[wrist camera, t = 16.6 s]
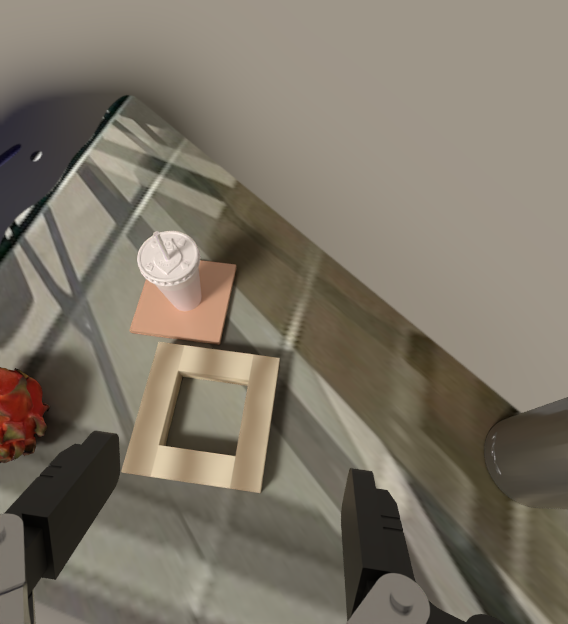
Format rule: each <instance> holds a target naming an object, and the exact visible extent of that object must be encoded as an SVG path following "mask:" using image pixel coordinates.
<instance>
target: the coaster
mask: <svg viewBox="0 0 568 624" xmlns="http://www.w3.org/2000/svg"><path fill="white" fill-rule="evenodd" d="M236 269H237V267H236V265H234V264H226V263H218V262H210V261H202V260H200V264H199V277H200V287H201V302H200V304H199V305H198V306H197V307H196V308H194V309H193V310H190V311H181V310H178V309H177V308H176V307H175V306H174V305H173V304H172V303H171V302H170V301H169V300H168V299H167V297H166V296H165V295H164V294H163V293H162V292H161V291H160V290H159V289H158V287H157V286H156V285H155V284H153V283H151V282H150V281H148V280H147V279H146V281H145V284H144V287H143V291H142V294H141V297H140V300H139V303H138V306H137V309H136V312H135V315H134V318H133V321H132V324H131V327H130V330H129V331H130V332H131V333H135V334H143V335H150V336H158V337H165V338H173V339H180V340H188V341H195V342H203V343H210V344H218V345H220V342H221V338H222V333H223V329H224V324H225V319H226V315H227V310H228V306H229V301H230V296H231V292H232V287H233V282H234V278H235V273H236Z"/></svg>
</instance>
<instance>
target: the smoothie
mask: <svg viewBox="0 0 568 624" xmlns="http://www.w3.org/2000/svg"><path fill="white" fill-rule="evenodd" d="M137 262H138V266H139V268H140V270H141V273H142V275H143V276H144V277H145V278H146V279H147V280H148V281H150V282H151V283H153V284H155V285H156V286H157V287H158V289H159V290H160V291H161V292H162V293H163V294H164V295H165V296H166V297H167V299H168V300H169V301H170V302H171V303H172V304H173V305H174V306H175V307H176V308H177V309H178V310H181V311H190V310H193V309H194V308H196V307H197V306H198V305H199V304H200V302H201V287H200V277H199V264H200V252H199V249H198V247H197V245H196V243H195V241H194V240H193V239H192V238H191V237H190V236H188V235H186V234H184V233H182V232H178V231H164V232H160V233H159V232H154V233H153V236H151V237H150V238H149V239H147V240H146V241H145V242H144V243H143V245H142V246H141V248H140V250H139V252H138V257H137Z"/></svg>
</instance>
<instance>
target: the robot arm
mask: <svg viewBox="0 0 568 624" xmlns="http://www.w3.org/2000/svg"><path fill="white" fill-rule="evenodd" d="M484 456H485V462H486V466H487V468H488V471H489V474H490V475H491V477H492V479H493V480H494V482H495V483H496V485H497V486H498V487H499V488H500V489H501V491H502V492H504V493H505V494H506V495H507V496H508V497H510V498H511V499H513V500H514V501H516V502H518V503H520V504H523V505H525V506H528V507H535V508H554V509H568V397H567V398H564V399H561V400H558V401H555V402H553V403H550V404H547V405H544V406H542V407H538V408H535V409H533V410H530V411H527V412H524V413H521V414H518V415H515V416H512V417H509V418H507V419H504V420H501V421H500V422H498V423H497V424H495V425H494V426H493V427H492V429H491V430H490V431H489V433H488V435H487V437H486V441H485V445H484ZM119 475H120V453H119V437H118V435H117V434H115V433H108V432H101V431H94V432H92V433H91V434H90V435H89V436H88V438H87V439H86V440H85V441H84V442H83V443H82V445H80V444H74V445H72V446H71V447H69V448H67V449H66V450H64V451H62V452H61V453H59V454H58V456H57V457H56V458H55V459H54V460H53V461H52V462H51V463H50V464H49V467H46V469H45V470H44V471H43V472H42V473H41V474H40V476H39V477H37V478H36V479H35V480H34V482H33V483H32V484H31V485H30V486H29V487H28V488H27V489H26V490H25V491H24V492H23V493H22V495H21V496H20V497H19V498H18V499H17V500H16V501H15V502H14V503H13V504H12V505H11V506H10V508H9V509H8V510H7V511H6V512H5V513H4V514H0V624H36V622H35V602H34V590H33V589H34V587H35V586H36V584H37V583H38V581H39V580H40V579H41V577H42V578H48V579H55V580H56V578H57V577H58V575H59V574H60V572H61V571H62V569H63V568H64V566H65V564H66V563H67V561H68V560H69V558H70V557H71V555H72V554H73V552H74V551H75V549H76V547H77V546H78V544H79V543H80V541H81V540H82V538H83V537H84V535H85V534H86V532H87V530H88V529H89V527H90V526H91V524H92V523H93V521H94V520H95V518H96V516H97V515H98V513H99V512H100V510H101V509H102V507H103V506H104V504H105V503H106V501H107V499H108V498H109V496H110V495H111V493H112V492H113V490H114V488H115V487H116V484H117V482H118V479H119ZM341 529H342V545H343V560H344V576H345V591H346V607H347V623H346V624H504V623H503V622H501V621H500V620H498V619H496V618H494V617H492V616H488V615H484V614H477V615H473V616H472V617H470V618H469V619H468V620H467V622H465V621H462V620H460V619H458V618H456V617H454V616H452V615H450V614H448V613H446V612H444V611H442V610H440V609H439V608H437V607H436V606H434V605H433V604H432V603H431V602H430V601H428V599H427V597H426V595H425V593H424V592H423V590H422V589H421V588H420V587H419V585H418V584H417V583H416V581H415V578H414V574H413V570H412V566H411V562H410V557H409V553H408V549H407V545H406V541H405V536H404V533H403V528H402V524H401V521H400V515H399V511H398V507H397V503H396V502H395V500H394V499H393V497H392V496H391V495H390V493H389V492H388V490H383V489H376V486H375V481H374V475H373V472H372V471H366V470H359V469H352V468H350V470H349V473H348V478H347V483H346V488H345V493H344V498H343V503H342V511H341Z"/></svg>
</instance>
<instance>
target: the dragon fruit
mask: <svg viewBox="0 0 568 624" xmlns="http://www.w3.org/2000/svg"><path fill="white" fill-rule="evenodd" d="M49 408H50V406H49V405H48V404H45V403H42V388H41V386H40V384H39V383H38V382H37V381H36V380H35V379H33V378H31V377H29V376H28V375H26V374H25V373H23V372H22V371H21V370H19V369H16V368H15V369H14V371H13V370H8V369H6V368H1V367H0V463H1V462H3V463H6V462H9V461H10V460H11V461H12V460H14V459H16V458H18V457H19V456H21V455H22V454H23V455H24V456H25V455H29V454H32V453H34V451H35V448H36V440H35V437H34V434H36V433H37V435H38V436H39V437H41V436H43V435H44V434H45V430H46V429H47V426H46V424H45V422H44V419H43V417H42V416H43V414H44V412H45V411H46V410H47V411H48V410H49ZM24 451H25V452H24ZM13 456H14V458H13ZM12 458H13V459H12Z"/></svg>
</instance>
